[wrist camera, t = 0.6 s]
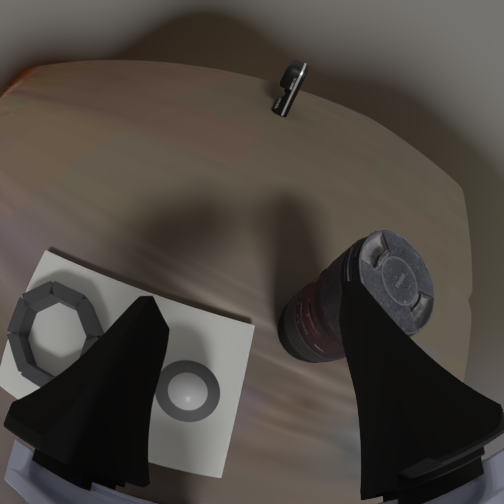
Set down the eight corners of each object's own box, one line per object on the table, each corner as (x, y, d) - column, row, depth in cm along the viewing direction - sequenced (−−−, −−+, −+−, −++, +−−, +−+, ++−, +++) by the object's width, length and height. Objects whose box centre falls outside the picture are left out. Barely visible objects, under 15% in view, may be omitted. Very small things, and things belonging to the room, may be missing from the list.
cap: (206, 422, 20) (213, 429, 17) (151, 407, 20) (147, 411, 16) (217, 372, 23) (226, 369, 20) (165, 357, 22) (164, 351, 19)
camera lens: (255, 332, 27) (335, 273, 14) (299, 284, 31) (381, 208, 19) (309, 382, 26) (419, 361, 13) (346, 330, 30) (445, 280, 18)
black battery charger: (273, 98, 52) (292, 55, 42) (290, 105, 52) (310, 63, 43) (267, 111, 48) (287, 63, 38) (285, 119, 48) (307, 72, 39)
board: (219, 475, 19) (226, 485, 16) (1, 384, 15) (-15, 381, 12) (251, 327, 27) (261, 320, 24) (48, 254, 24) (38, 239, 21)
